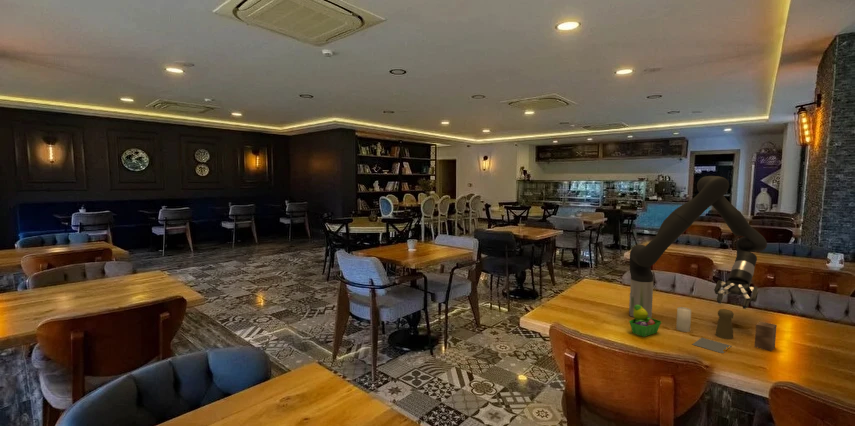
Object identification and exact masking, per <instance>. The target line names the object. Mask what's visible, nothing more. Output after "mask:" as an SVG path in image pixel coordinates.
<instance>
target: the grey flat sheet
mask: <svg viewBox="0 0 855 426" xmlns="http://www.w3.org/2000/svg"><path fill="white" fill-rule="evenodd" d="M691 345H693V346H695V347H699V348H702V349H706V350H709V351H712V352H716V353H720V354H722V353H723V354H724V353H725V352H724V351H723V350H724V349H725V350H726V347H727V348H728V347H729V346H730V348H732V345H731V344H727V343H723V342H719V341H717V340H716V341H715V340H713V339H709V338H704V337H701V338H699V339H697V340H696V341H694V342H693V343H692V344H691Z"/></svg>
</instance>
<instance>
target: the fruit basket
mask: <svg viewBox="0 0 855 426" xmlns="http://www.w3.org/2000/svg"><path fill="white" fill-rule="evenodd" d="M633 315H634V317H633V319H630V320H628V322H629V325H630V328H631V331H632V334H635V335H637V336H640V337H643V338H645V337H648V336H652V335H653V334H657V333H658V331H659V328H660V326H661V324H662V321H661V320H658V319H656V318H653V317H651V318H650V317H647V316H648V313H647V311H646V310H645V309H644V308H643V307H642V306H640V305H635V306H634V312H633Z"/></svg>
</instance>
